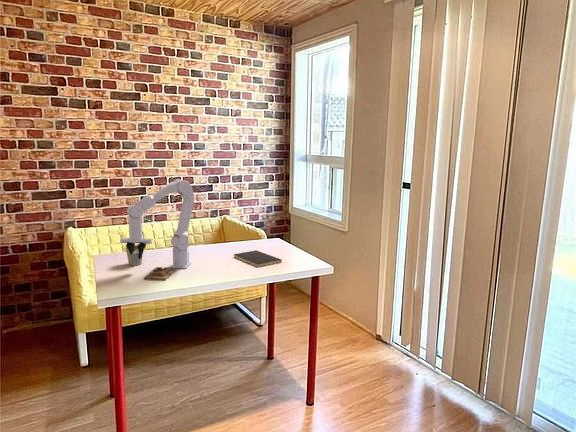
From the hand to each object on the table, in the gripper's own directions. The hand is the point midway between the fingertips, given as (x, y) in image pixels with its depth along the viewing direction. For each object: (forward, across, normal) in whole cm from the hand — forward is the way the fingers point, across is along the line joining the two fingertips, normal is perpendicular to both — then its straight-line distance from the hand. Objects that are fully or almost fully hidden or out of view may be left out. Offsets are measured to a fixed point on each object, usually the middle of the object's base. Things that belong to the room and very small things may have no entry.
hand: (136, 258), depth 197 cm
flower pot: (+8, -7, +14) cm, 17 cm away
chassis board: (+7, +12, -2) cm, 14 cm away
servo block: (+2, 0, 0) cm, 2 cm away
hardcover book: (+8, +54, +31) cm, 63 cm away
